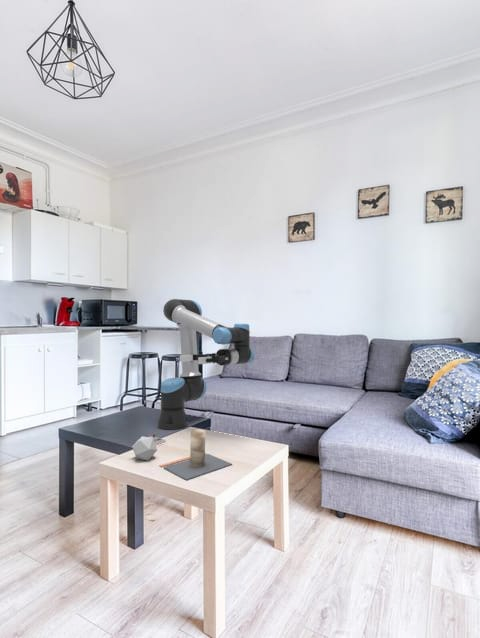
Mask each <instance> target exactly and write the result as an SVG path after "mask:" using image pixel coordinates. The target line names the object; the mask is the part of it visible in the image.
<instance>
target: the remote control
mask: <svg viewBox="0 0 480 638" xmlns="http://www.w3.org/2000/svg"><path fill="white" fill-rule="evenodd" d="M144 437H150V438H153V440H154V443H155V445H159V444H162V443H165V442H167V440H166V439H163V438H160V437H157V436H156V434H152V435H150V436H145V435H144ZM162 445H163V444H162ZM159 446H160V445H159Z"/></svg>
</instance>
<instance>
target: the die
mask: <svg viewBox="0 0 480 638" xmlns="http://www.w3.org/2000/svg"><path fill="white" fill-rule="evenodd" d="M132 450H133V452H134V454H135V457H136V459H137V460H141V459H142V461H149V460H150V459H151V458H152V457H153V456H154V455H155V454H156V453H157V451H158V448H157V446H156V445H155V443H154V440H153V438H150V436H148V437H145V436H141V437H140V438H138V439H137V441H136V442H135V443H133V445H132Z"/></svg>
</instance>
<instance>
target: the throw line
mask: <svg viewBox="0 0 480 638" xmlns="http://www.w3.org/2000/svg"><path fill="white" fill-rule="evenodd" d="M206 454H207V453H206V452H205V455H206ZM186 460H190V456H187V457H182V458H181V459H176V460H173V461H169V462H166V463H163V464H159V467H161V468H164V467H166V466H169V465H173V464H176V463H180V462H183V461H186Z"/></svg>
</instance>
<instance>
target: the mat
mask: <svg viewBox="0 0 480 638" xmlns="http://www.w3.org/2000/svg"><path fill="white" fill-rule="evenodd" d="M232 465H233V463H231V462H228V461H227V460H224V459H222V458H219V457H216V456H214V455H212V454H209V453H206V454H205V465H204V466H203V467H200V468H194V467H191V466H190V459H188V460H185V461H182V462H178V463H175V464H172V465H168V466H165V467H163V470H165V471H168V472H170V473H172V474H173V475H175V476H177V477H179V478H181V479H183V480H184V481H186V482H187V481H190V480H193V479H195V478H198V477H201V476H204V475H208V474H210V473H212V472H215V471H218V470H221V469H224V468H226V467H227V468H228V467H230V466H232Z"/></svg>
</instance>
